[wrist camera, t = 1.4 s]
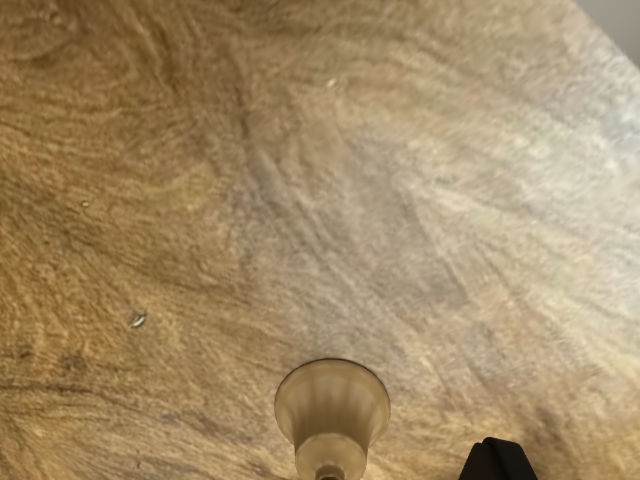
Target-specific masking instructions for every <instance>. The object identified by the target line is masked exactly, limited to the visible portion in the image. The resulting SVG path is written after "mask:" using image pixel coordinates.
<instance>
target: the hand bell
mask: <svg viewBox="0 0 640 480" xmlns="http://www.w3.org/2000/svg"><path fill="white" fill-rule="evenodd" d="M275 416H276V420H277V423H278V425H279V427H280V429H281V431H282V433H283V434H284V435H285V437H286V438H287V439H288V440H289V441H290V442H291V443H292V444H293V445H294V448H295V464H296V469H297V471H298V473H299V475H300V476H301V478H302V479H303V480H360V479H361V477H362V476H363V474H364V471H365V469H366V463H367V452H368V448H370V447H371V446H372V445H373V444H375V443H376V442H377V440H378V439H379V438H380V437H381V435H382V434H383V432H384V431H385V429H386V427H387V425H388V422H389V418H390V401H389V397H388V394H387V392H386V390H385V388H384V386H383V385H382V383H381V382H380V381H379V380H378V379H377V377H376V376H374V375H373V374H372V373H371V372H369V371H368V370H367V369H365V368H363V367H361V366H359V365H357V364H354V363H351V362H347V361H342V360H332V359H330V360H320V361H315V362H311V363H309V364H306V365H304V366H302V367H300V368H298V369H296V370H295V371H294V372H292V373H291V374H289V375H288V376H287V378H286V379H285V380H284V381H283V383H282V384H281V386H280V388H279V390H278V392H277V395H276V398H275Z"/></svg>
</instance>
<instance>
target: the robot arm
mask: <svg viewBox="0 0 640 480" xmlns="http://www.w3.org/2000/svg"><path fill="white" fill-rule="evenodd" d="M458 480H538V479H537V477H536V475H535V473H534V471H533V469H532V467H531V465H530V463H529V461H528V459H527V457H526V455H525V453H524V451H523V449H522V447H521V446H520V445H519V444H517V443H515V442H510V441H506V440H501V439H497V438H493V437H486V438H485V439H484V440H483V442H482V443H475V444H474V446H473V447H472V449H471V452H470V454H469V456H468V459H467V461H466V463H465V465H464V468H463V470H462V472H461V475H460V477H459V479H458Z"/></svg>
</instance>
